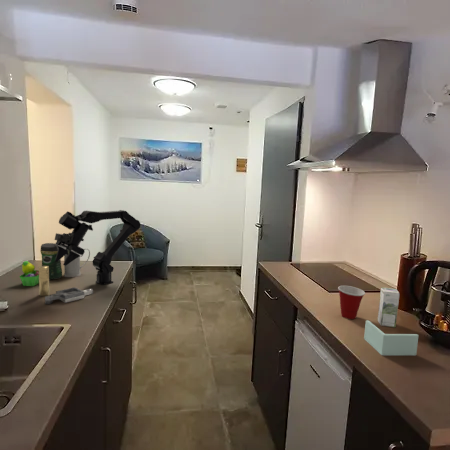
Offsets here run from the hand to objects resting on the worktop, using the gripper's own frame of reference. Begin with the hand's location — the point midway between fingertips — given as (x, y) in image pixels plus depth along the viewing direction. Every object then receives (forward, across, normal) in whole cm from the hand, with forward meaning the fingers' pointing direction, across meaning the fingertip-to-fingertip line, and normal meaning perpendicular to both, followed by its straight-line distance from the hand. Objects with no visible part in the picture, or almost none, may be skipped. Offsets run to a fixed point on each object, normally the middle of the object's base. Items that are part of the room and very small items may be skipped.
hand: (60, 263), depth 159 cm
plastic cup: (-30, +107, +70) cm, 132 cm away
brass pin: (+15, 0, +2) cm, 15 cm away
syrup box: (-32, +121, +73) cm, 145 cm away
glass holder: (+1, -24, +23) cm, 33 cm away
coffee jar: (+8, -25, +12) cm, 29 cm away
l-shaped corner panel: (-21, +128, +57) cm, 142 cm away
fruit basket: (+14, -22, +3) cm, 26 cm away
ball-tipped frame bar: (+12, +11, +7) cm, 18 cm away
